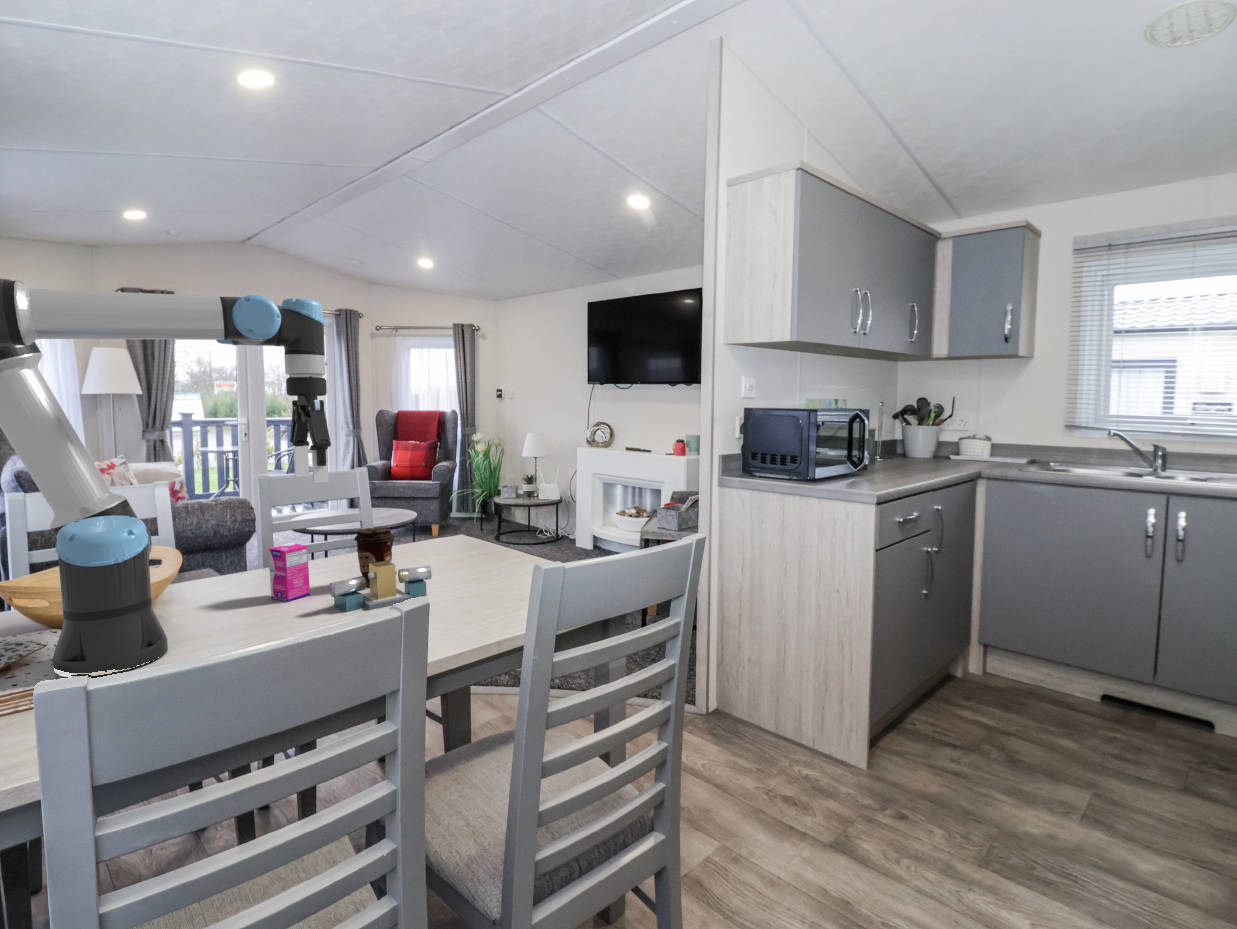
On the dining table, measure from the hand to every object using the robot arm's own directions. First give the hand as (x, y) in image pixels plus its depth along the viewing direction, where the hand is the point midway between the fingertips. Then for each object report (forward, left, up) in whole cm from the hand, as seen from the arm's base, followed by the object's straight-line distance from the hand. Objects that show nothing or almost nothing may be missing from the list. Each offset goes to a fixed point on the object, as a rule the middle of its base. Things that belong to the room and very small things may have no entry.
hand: (311, 479), depth 137 cm
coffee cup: (+15, +7, -27) cm, 32 cm away
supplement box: (-3, +9, -27) cm, 29 cm away
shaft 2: (+19, -7, -27) cm, 33 cm away
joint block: (+12, -7, -26) cm, 29 cm away
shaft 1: (+4, -7, -27) cm, 28 cm away
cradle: (+12, -7, -27) cm, 30 cm away
